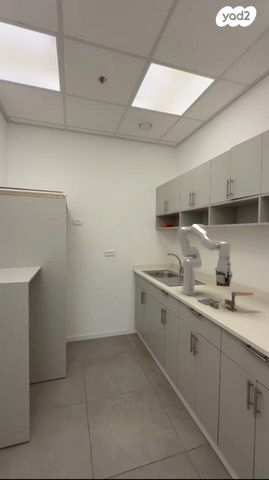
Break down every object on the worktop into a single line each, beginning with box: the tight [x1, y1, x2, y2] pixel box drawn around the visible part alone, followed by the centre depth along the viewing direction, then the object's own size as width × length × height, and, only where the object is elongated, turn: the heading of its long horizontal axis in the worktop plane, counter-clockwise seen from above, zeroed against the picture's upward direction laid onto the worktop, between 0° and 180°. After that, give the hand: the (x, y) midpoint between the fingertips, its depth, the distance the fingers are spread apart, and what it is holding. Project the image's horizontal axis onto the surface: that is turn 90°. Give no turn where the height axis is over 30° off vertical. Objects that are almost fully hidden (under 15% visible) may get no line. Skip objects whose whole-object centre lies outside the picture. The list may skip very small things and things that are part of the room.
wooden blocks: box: [207, 296, 238, 312], centre depth 169 cm, size 16×19×10 cm
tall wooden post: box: [230, 291, 254, 297], centre depth 164 cm, size 16×3×2 cm, turn 100°
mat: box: [196, 298, 221, 306], centre depth 181 cm, size 10×15×1 cm, turn 113°
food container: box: [214, 271, 233, 288], centre depth 173 cm, size 12×6×10 cm, turn 81°
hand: (222, 280), depth 173 cm, fingers closed on food container, 7 cm apart
